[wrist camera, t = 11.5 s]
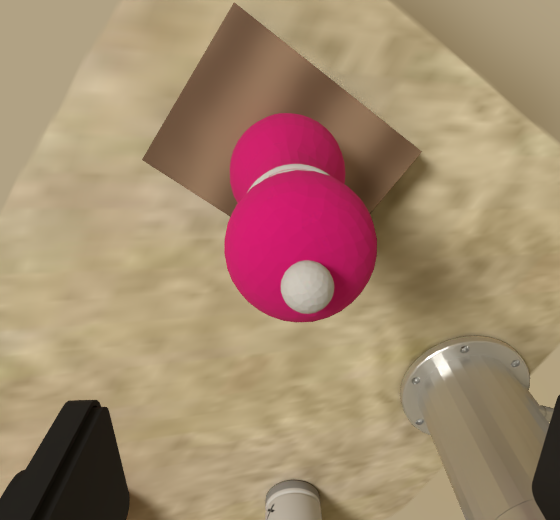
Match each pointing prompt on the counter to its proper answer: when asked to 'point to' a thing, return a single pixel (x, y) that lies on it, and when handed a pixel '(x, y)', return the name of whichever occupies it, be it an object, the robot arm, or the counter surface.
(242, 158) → the pepper mill
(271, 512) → the travel mug
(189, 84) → the walnut base
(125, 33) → the counter surface
